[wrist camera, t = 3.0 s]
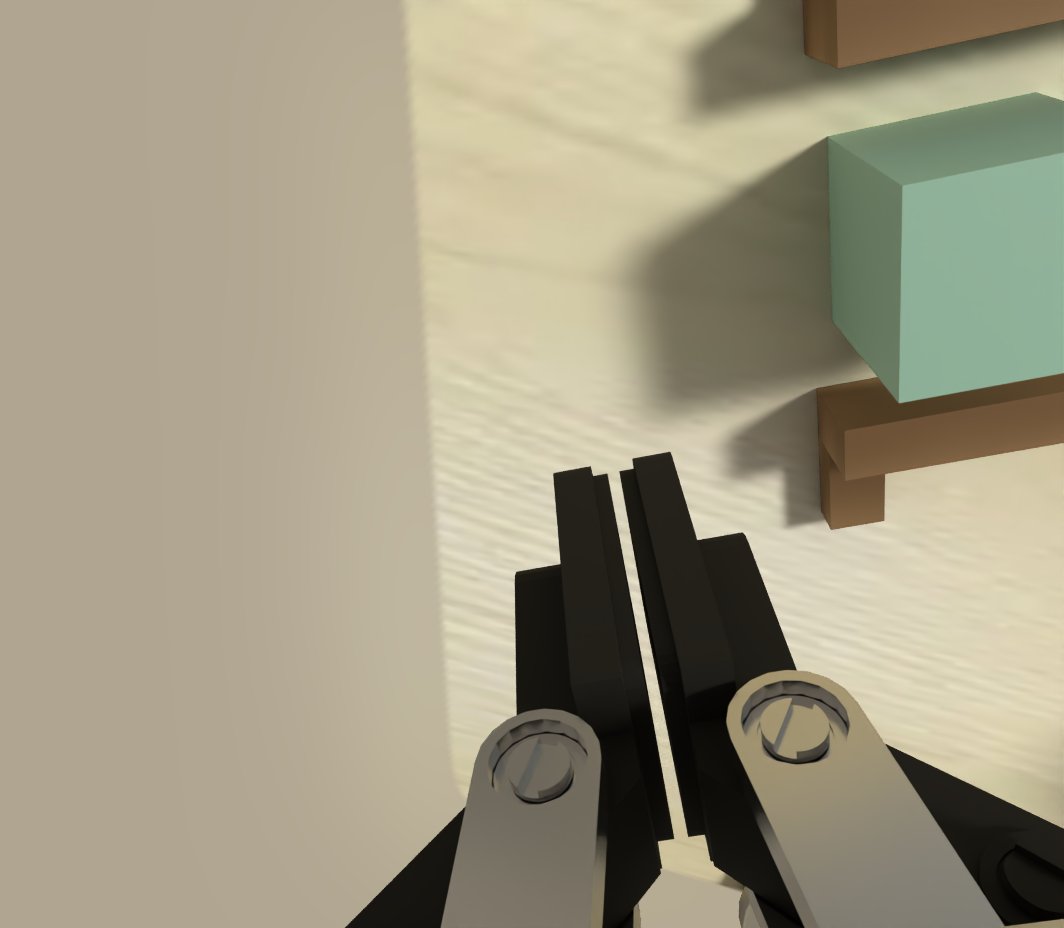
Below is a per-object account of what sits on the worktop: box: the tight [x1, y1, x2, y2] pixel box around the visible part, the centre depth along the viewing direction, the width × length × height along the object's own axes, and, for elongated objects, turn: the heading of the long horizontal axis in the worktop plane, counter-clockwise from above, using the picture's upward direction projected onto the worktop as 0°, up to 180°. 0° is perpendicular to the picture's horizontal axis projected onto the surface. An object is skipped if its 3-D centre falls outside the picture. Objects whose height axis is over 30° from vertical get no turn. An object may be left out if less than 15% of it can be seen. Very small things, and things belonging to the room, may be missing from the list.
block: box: [827, 92, 1064, 403], centre depth 21 cm, size 5×5×5 cm
